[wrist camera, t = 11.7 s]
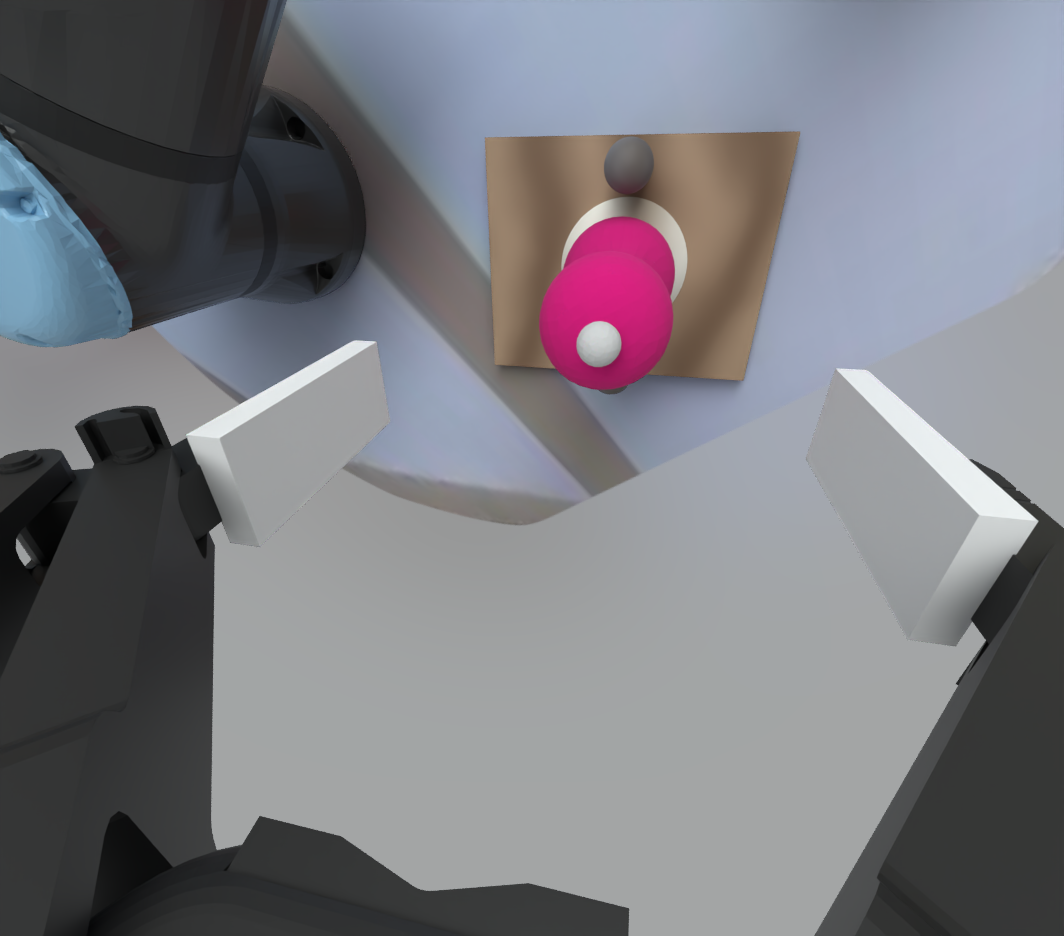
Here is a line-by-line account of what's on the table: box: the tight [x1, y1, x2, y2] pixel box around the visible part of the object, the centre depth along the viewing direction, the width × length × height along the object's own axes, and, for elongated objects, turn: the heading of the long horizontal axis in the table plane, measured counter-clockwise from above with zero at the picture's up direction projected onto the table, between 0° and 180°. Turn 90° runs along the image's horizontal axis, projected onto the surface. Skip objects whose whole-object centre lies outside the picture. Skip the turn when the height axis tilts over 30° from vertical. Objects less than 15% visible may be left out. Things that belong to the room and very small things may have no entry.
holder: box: [485, 132, 800, 394], centre depth 33 cm, size 20×16×8 cm
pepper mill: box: [539, 216, 675, 390], centre depth 27 cm, size 7×7×20 cm
